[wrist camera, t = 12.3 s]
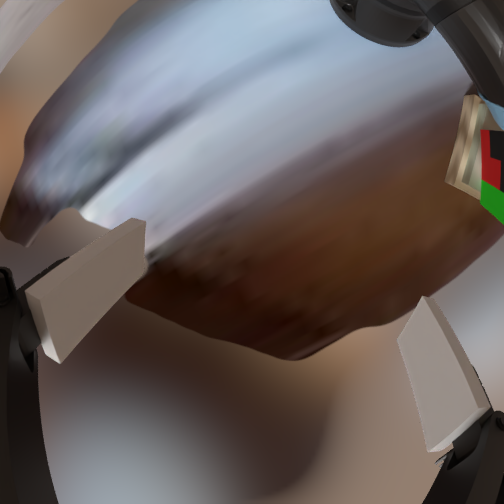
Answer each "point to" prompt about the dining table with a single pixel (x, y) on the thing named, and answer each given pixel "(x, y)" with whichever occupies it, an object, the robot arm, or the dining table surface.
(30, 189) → the dining table surface
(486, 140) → the puzzle toy
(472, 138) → the plinth
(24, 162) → the dining table surface
